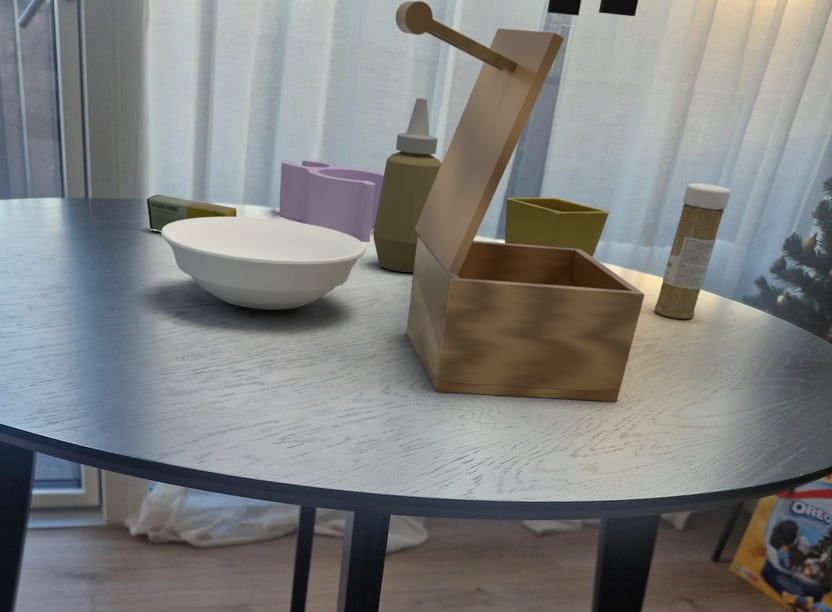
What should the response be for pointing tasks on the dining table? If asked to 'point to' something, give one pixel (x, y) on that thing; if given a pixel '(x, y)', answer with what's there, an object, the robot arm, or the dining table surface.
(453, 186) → the chest lid
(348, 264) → the bowl
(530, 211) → the flower pot
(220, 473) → the dining table surface
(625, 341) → the chest
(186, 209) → the medication box
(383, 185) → the squeeze bottle
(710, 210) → the sprinkles bottle
